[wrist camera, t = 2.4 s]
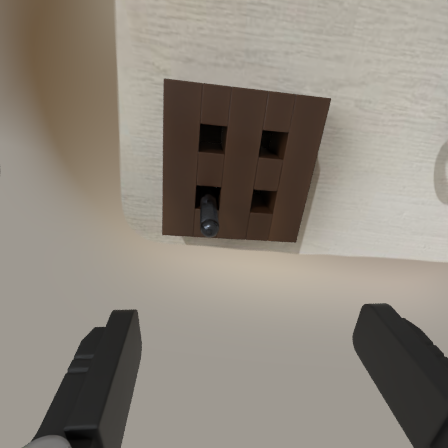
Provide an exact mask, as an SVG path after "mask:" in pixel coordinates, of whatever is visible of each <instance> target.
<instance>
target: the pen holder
mask: <svg viewBox="0 0 448 448" xmlns="http://www.w3.org/2000/svg"><path fill="white" fill-rule="evenodd" d="M330 101H331V98H322V97H314V96H306V95H297V94H289V93H281V92H272V91H264V90H255V89H247V88H239V87H230V86H222V85H214V84H205V83H203V84H202V83H197V82H189V81H180V80H172V79H164V106H163V220H162V235H173V236H191V237H205V236H204V235H203V234H202V233H201V231H200V191H201V190H199V189H196V185H200V186H213V187H216V191H215V198H216V206H217V213H218V221H219V232H218V234H217V235H216V236H214V237H211V238H226V239H244V240H245V239H246V240H263V241H267V240H268V241H279V242H296V240H297V236H298V232H299V228H300V224H301V220H302V215H303V211H304V207H305V203H306V199H307V195H308V191H309V187H310V183H311V179H312V175H313V171H314V167H315V162H316V158H317V154H318V150H319V146H320V142H321V138H322V134H323V130H324V126H325V122H326V118H327V114H328V110H329V105H330ZM200 124H208V125H217V126H222V134H221V144H220V143H209V142H199V134H200ZM263 130H266V131H272V132H271V138H270V144H269V148H261V147H260V143H261V137H262V131H263ZM253 189H254V190H262V191H261V194H253Z"/></svg>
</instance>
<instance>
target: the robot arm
mask: <svg viewBox="0 0 448 448" xmlns="http://www.w3.org/2000/svg"><path fill="white" fill-rule="evenodd" d="M353 345H354V348H355V351H356V353H357V355H358V356H359V358H360V360H361V361H362V363H363V365H364V366H365V368H366V370H367V371H368V373H369V375H370V376H371V378H372V379H373V381H374V383H375V384H376V386H377V388H378V389H379V391H380V393H381V394H382V396H383V398H384V399H385V401H386V403H387V404H388V406H389V407H390V409H391V411H392V412H393V414H394V416H395V417H396V419H397V421H398V422H399V424H400V426H401V427H402V428H403V430H404V432H405V434H406V436H407V437H408V439H409V440H410V442H411V444H412V445H413V447H414V448H448V358H447V357H444V354H443V353H442V352H441V351H440V349H439V348H438V347H437V346H436V345H433V342H432V341H431V340H430V339H429V338H428V337H427V336H426V335H425V333H424V332H423V331H421V329H420V328H418V327H417V326H415V325H414V324H412V323H411V322H409V321H408V320H406V319H405V318H401V317H400V315H399V314H398V313H397V312H396V311H395V310H394V309H393V308H392V307H391V306H390V305H388V304H386V303H383V304H364V305H363V306H362V308H361V311H360V314H359V318H358V321H357V323H356V326H355V329H354V333H353ZM141 351H142V341H141V334H140V327H139V319H138V312H137V310H113V311H112V313H111V315H110V317H109V320H108V322H107V325H106V327H95V328H94V329H93V330H92V331H91V332H90V333H89V334H88V335H87V336H86V337H85V338H84V339H83V340H82V341H81V343H80V345H79V347H78V350H77V352H76V354H75V356H74V360H72V362H71V364H70V366H69V368H68V372H67V373H66V374H65V376H64V378H63V380H62V382H61V385H60V387H59V389H58V391H57V393H56V395H55V397H54V399H53V401H52V403H51V405H50V407H49V410H48V411H47V414H46V416H45V418H44V420H43V422H42V424H41V426H40V428H39V430H38V432H37V434H36V435H35V437H34V438H33V439H32V441H31V442H30V443H28V444H27V445H25V446H24V447H23V448H121V443H122V439H123V435H124V431H125V426H126V421H127V417H128V413H129V409H130V404H131V399H132V395H133V391H134V386H135V382H136V378H137V373H138V369H139V364H140V360H141Z"/></svg>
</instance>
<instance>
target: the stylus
mask: <svg viewBox="0 0 448 448" xmlns="http://www.w3.org/2000/svg"><path fill="white" fill-rule="evenodd" d="M200 231H201V233H202V234H203V235H204V236H205V237H208V238H211V237H214V236H216V235H217V234H218V232H219V221H218V213H217V206H216V198H215V191H214V187H213V186H201V191H200Z"/></svg>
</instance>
